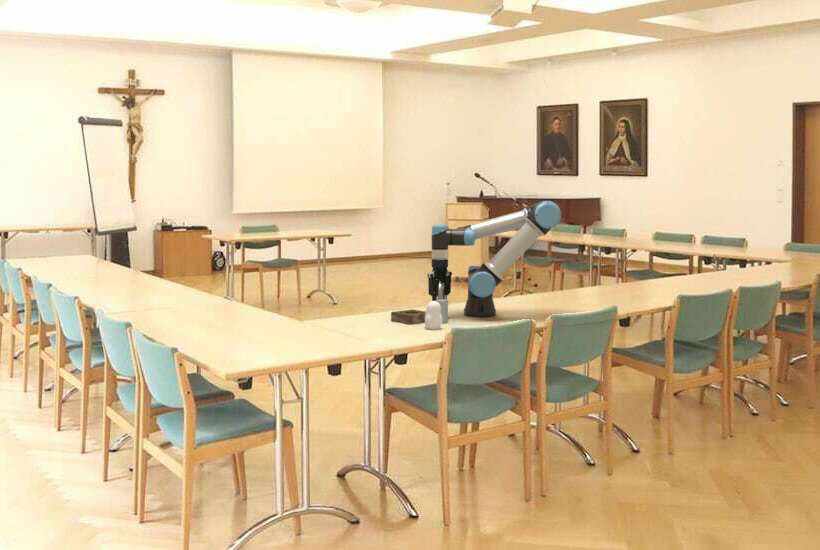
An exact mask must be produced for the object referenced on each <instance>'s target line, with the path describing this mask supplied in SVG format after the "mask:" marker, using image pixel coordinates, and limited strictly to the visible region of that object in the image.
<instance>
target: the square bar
mask: <svg viewBox="0 0 820 550" xmlns="http://www.w3.org/2000/svg"><path fill="white" fill-rule="evenodd" d="M436 301H437V302H438V303H439V304H440V306H441V315H442V324H443V325H445V324H447V323H448V322H449V300H448V299H447V300H436ZM442 324H441V325H442Z"/></svg>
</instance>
